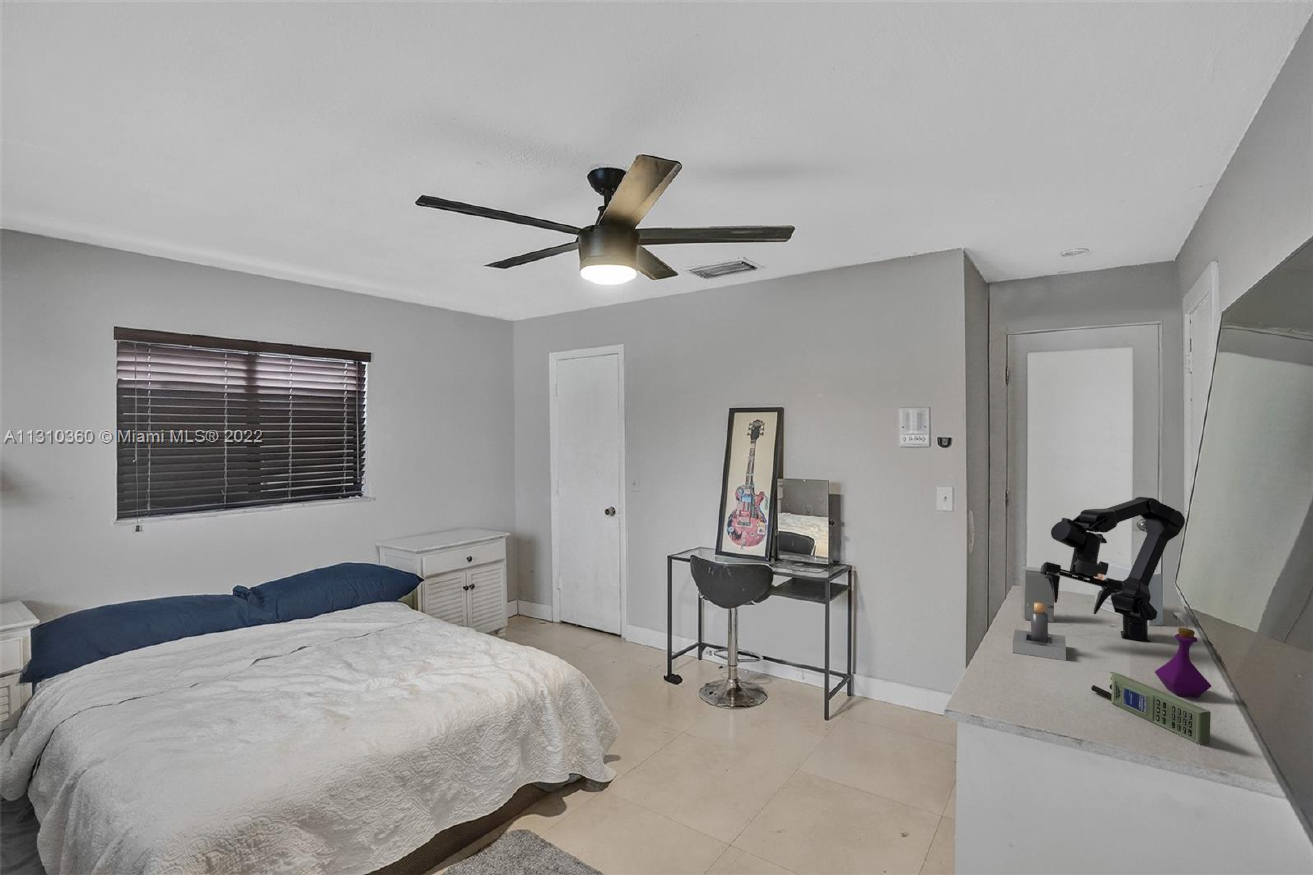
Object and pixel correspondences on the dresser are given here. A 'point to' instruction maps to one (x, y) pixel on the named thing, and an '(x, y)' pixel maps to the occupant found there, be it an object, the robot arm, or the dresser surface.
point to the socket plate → (1039, 645)
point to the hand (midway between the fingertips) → (1074, 608)
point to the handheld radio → (1159, 708)
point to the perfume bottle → (1183, 666)
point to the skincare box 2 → (1122, 573)
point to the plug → (1039, 624)
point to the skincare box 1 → (1036, 592)
